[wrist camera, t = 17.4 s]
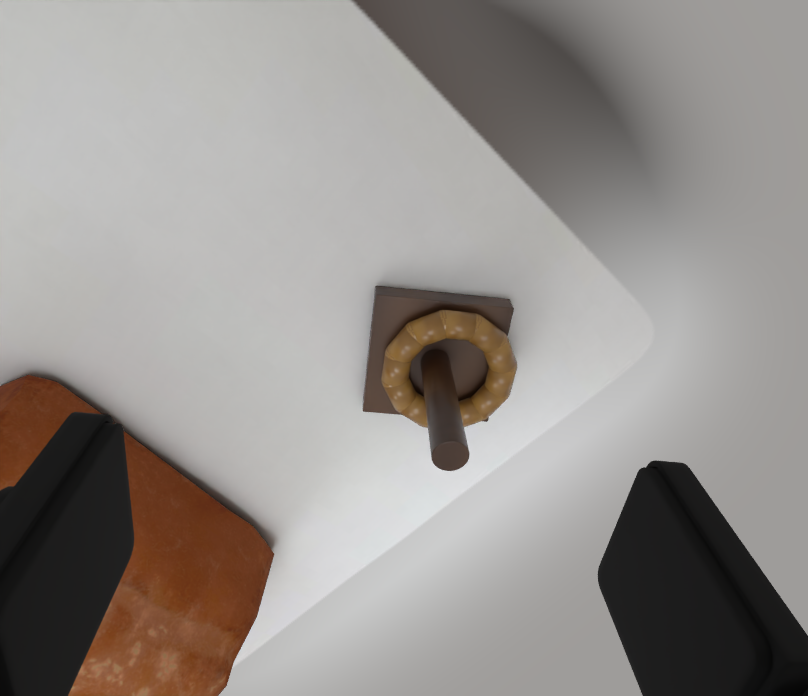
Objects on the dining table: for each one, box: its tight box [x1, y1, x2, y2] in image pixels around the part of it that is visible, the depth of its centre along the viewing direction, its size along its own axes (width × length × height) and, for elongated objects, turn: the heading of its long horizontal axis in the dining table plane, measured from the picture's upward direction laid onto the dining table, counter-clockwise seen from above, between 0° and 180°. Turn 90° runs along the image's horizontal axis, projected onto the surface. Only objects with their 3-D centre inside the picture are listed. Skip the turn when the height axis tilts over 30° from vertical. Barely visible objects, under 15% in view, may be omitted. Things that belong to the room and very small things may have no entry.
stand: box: [363, 286, 514, 471], centre depth 37 cm, size 9×9×12 cm
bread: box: [0, 375, 274, 696], centre depth 41 cm, size 17×24×15 cm
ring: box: [381, 310, 517, 428], centre depth 40 cm, size 9×9×2 cm
